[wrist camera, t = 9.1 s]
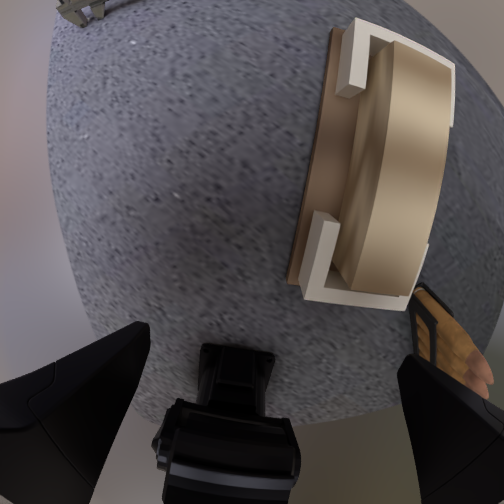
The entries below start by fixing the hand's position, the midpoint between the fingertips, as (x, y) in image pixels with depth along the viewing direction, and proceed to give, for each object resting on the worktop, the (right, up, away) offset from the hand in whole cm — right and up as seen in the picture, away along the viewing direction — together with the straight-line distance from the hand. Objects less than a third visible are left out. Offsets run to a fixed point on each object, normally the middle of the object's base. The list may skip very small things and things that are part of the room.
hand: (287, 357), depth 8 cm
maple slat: (+7, +9, +8) cm, 14 cm away
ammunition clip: (+15, -4, +14) cm, 21 cm away
